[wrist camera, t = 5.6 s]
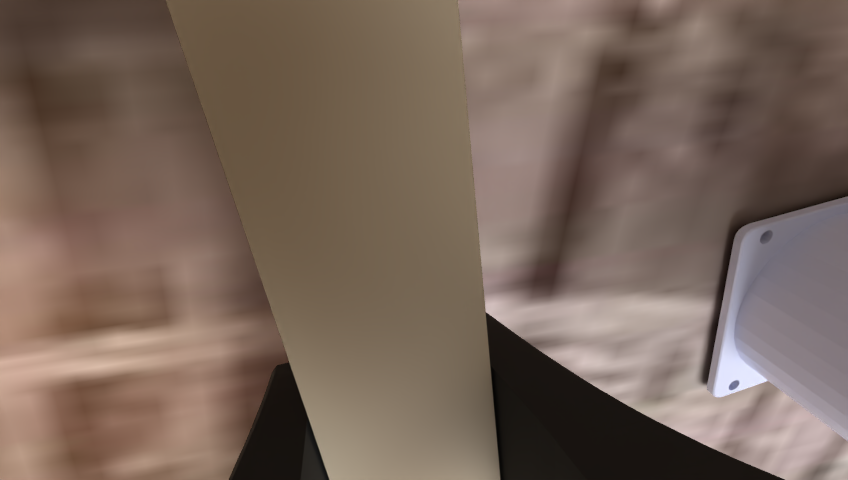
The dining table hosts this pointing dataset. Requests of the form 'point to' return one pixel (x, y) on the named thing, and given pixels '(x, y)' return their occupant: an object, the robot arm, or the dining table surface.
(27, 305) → the dining table surface
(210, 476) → the dining table surface
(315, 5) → the beige tapered strip
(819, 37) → the dining table surface
